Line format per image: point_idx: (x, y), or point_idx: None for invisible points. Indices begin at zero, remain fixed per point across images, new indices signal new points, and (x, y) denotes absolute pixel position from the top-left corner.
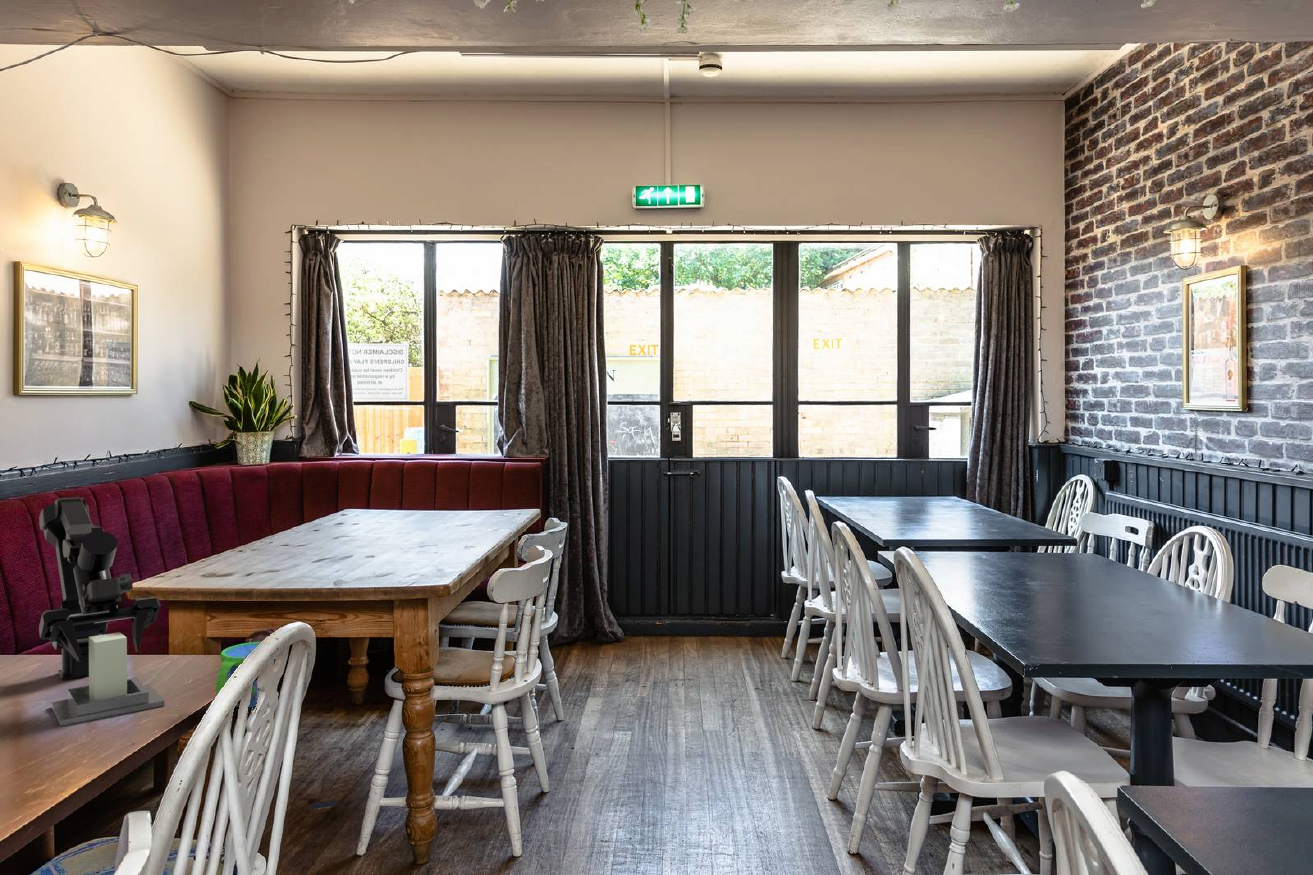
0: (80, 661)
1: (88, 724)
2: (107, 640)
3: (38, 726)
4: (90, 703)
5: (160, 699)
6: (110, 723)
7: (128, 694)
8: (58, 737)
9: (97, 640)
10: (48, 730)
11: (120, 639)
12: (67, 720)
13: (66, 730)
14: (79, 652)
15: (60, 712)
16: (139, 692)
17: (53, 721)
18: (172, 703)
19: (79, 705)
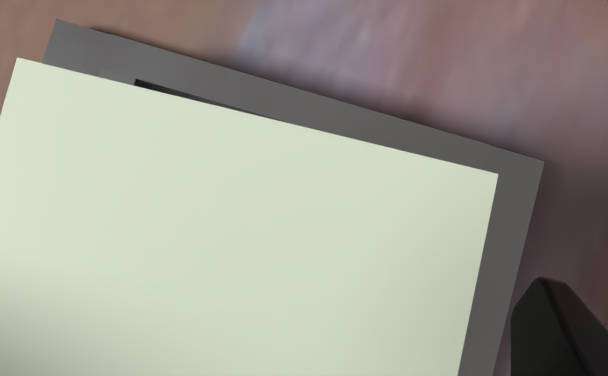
0: (517, 309)
1: (436, 81)
2: (311, 136)
3: (595, 258)
4: (423, 126)
5: (60, 54)
6: (366, 5)
7: (210, 92)
8: (595, 20)
9: (413, 279)
10: (587, 157)
11: (119, 88)
12: (512, 154)
13: (535, 84)
14: (578, 333)
15: (494, 297)
16: (150, 72)
17: (522, 274)
18: (19, 36)
19: (478, 141)
